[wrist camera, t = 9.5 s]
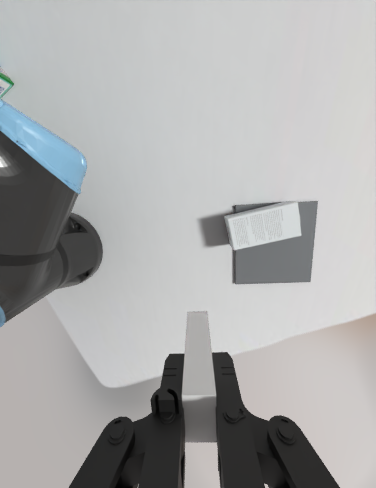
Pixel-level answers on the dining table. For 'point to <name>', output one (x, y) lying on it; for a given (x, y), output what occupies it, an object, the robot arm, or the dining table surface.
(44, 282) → the robot arm
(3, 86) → the milk carton
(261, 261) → the mat
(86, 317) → the dining table surface
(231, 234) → the skincare box
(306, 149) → the dining table surface
